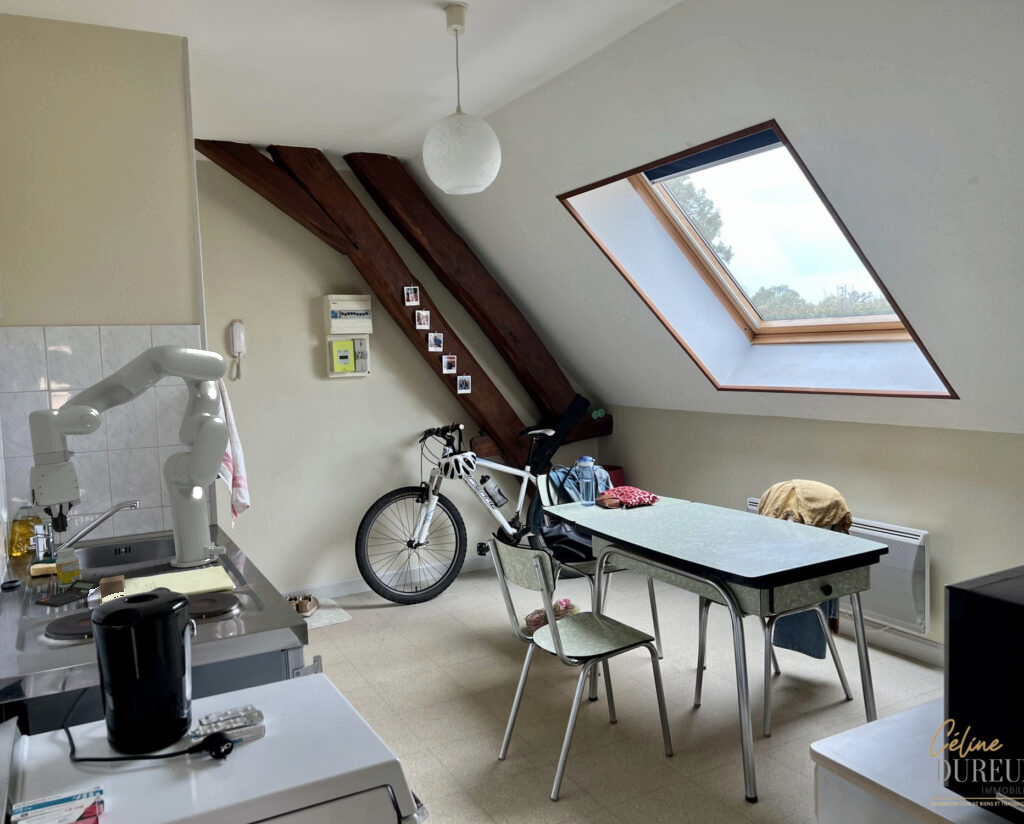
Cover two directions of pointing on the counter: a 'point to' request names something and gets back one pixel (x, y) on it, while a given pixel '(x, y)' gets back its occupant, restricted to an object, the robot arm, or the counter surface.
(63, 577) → the supplement bottle
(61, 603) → the calculator
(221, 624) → the counter surface
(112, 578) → the walnut block
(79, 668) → the counter surface
